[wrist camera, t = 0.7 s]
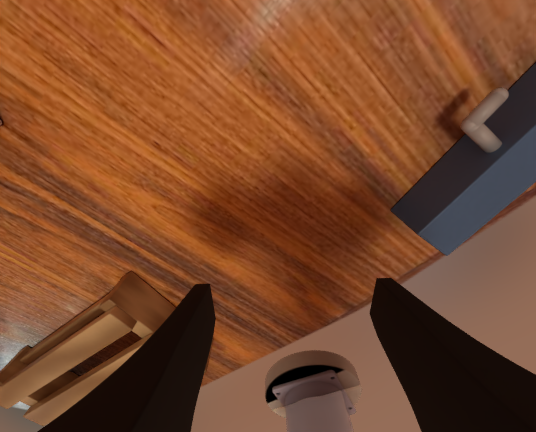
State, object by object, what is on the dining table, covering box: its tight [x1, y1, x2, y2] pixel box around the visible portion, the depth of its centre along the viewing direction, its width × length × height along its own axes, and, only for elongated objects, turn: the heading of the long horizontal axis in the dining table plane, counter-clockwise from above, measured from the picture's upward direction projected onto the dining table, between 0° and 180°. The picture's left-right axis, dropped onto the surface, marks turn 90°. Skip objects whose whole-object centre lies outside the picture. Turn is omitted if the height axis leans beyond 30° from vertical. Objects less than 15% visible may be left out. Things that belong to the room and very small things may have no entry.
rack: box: [0, 271, 213, 426], centre depth 22 cm, size 10×16×4 cm, turn 126°
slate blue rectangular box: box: [391, 63, 536, 256], centre depth 14 cm, size 5×12×4 cm, turn 145°
